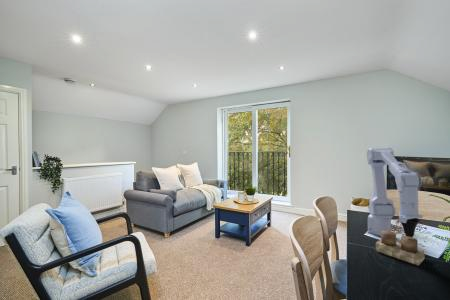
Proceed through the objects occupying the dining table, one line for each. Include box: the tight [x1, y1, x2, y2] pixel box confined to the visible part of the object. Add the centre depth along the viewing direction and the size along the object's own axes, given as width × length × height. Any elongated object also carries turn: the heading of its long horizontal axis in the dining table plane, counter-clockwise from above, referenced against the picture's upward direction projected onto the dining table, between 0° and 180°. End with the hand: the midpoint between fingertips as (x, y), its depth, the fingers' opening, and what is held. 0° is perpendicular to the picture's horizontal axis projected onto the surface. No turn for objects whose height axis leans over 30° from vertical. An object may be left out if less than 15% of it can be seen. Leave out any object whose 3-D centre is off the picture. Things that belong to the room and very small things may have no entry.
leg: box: [400, 235, 419, 253], centre depth 84 cm, size 5×5×8 cm
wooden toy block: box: [375, 230, 425, 266], centre depth 86 cm, size 14×8×8 cm, turn 33°
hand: (409, 236), depth 83 cm, fingers closed
